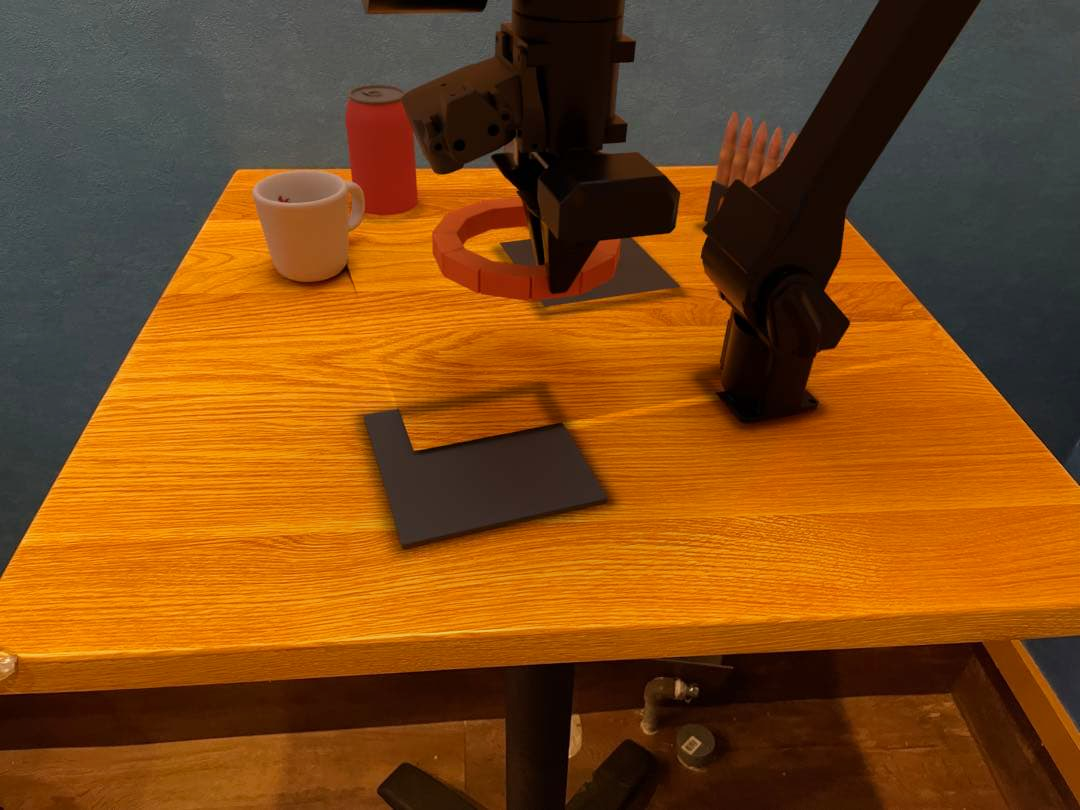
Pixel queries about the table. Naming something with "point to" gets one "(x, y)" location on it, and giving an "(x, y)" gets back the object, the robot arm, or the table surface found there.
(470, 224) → the ring
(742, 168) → the ammunition clip
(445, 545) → the table surface
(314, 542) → the table surface
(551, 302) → the stake
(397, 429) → the mat
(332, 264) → the cup
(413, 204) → the beer can
